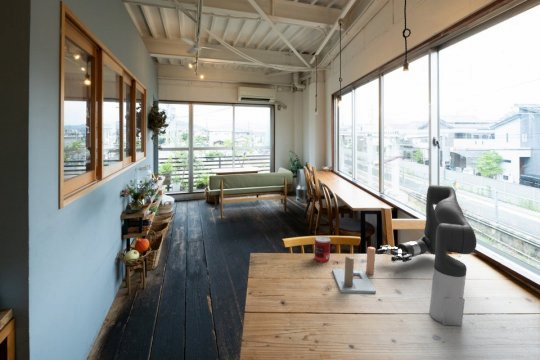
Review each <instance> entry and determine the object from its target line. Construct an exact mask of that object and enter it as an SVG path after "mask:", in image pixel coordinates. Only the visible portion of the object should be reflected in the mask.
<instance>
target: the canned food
mask: <svg viewBox="0 0 540 360" xmlns="http://www.w3.org/2000/svg"><path fill="white" fill-rule="evenodd" d="M330 256H331V238H330V237H328V236H324V235H319V236H315V239H314V259H315V260H316V261H317V262H319V263H327V262H329V261H330Z"/></svg>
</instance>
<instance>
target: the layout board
mask: <svg viewBox="0 0 540 360" xmlns="http://www.w3.org/2000/svg"><path fill="white" fill-rule="evenodd" d="M344 259H345V260H344V262H345V263H344V269H343V268H342V269H341V268H337V269H336V268H332V274H333V276H334V279H335V282H336V284H337V286H338V289H339V292H340V293H347V294H348V293H350V294H353V293H355V294H357V293H358V294H376V293H377V291H376V289H375V287H374V286H373V284H372V282H371V281H370V279H369V278H368V275H367V273H366V272H365V271H364V269H355V267H354V265H355V258H354V257H353V256H351V255H347V256H345V258H344ZM354 276H359V277H360V278H354Z"/></svg>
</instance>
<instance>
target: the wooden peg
mask: <svg viewBox="0 0 540 360" xmlns="http://www.w3.org/2000/svg"><path fill="white" fill-rule="evenodd" d="M375 259H376V248H375V247H373V246H368V247H367V250H366V265H365V266H366V269H365V274H366V275H368V276H369V275H370V276H373V275H374V274H375Z"/></svg>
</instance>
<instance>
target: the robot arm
mask: <svg viewBox="0 0 540 360" xmlns="http://www.w3.org/2000/svg"><path fill="white" fill-rule="evenodd" d="M425 205H426V206H425V224H424V225H425V226H424V231H423V233H424V234H423V235H422V236H421V237H419V238H418V239H416V240H414V241H413V240H412V241H405V242H401V243H398V244H397V245H396V246H393V247H391V245H390V244H386V245H380V248H379V249H377V250H376V254H377V255H381V254H382V255H383V254H386V255H388V256H391V257H390V262H397V261H398V262H402V263H407V262H410V261H412V259H413V258H414V257H415V258H416V257H417V256H421V255H424V254H425V253H427V252H428V253H429V254H430V255H434V262H433V263H434V264H433V273H432V280H431V281H432V283H431V289H430V290H431V293H430V301H429V302H430V303H429V315H430V316H431V318H432V319H434V320H435V321H437V322H438V323H440V324H442V326H463V320H464V319H463V318H464V308H465V298H464V295H465V285H466V279H467V277H466V276H467V266H466V265H465V263H464V262H462V261H460V260H458V259H456V258H454V257H452V256H451V255H449V254H448V253H455V254H460V255H470V254H473V253H474V252H475V250H476V249H477V236H476V232H475V230H474V229H473V227H472V226H471V225H470V223H469V221H467V219H466V218H465V215H464V212H463V210H462V207H461V206H460V204H459V202H458V199H457V194H456V190H455V188H453V186H450V185H442V184H441V185H439V184H431V185H429V186H428V188H427V191H426V201H425ZM434 205H435V207H434Z"/></svg>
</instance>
